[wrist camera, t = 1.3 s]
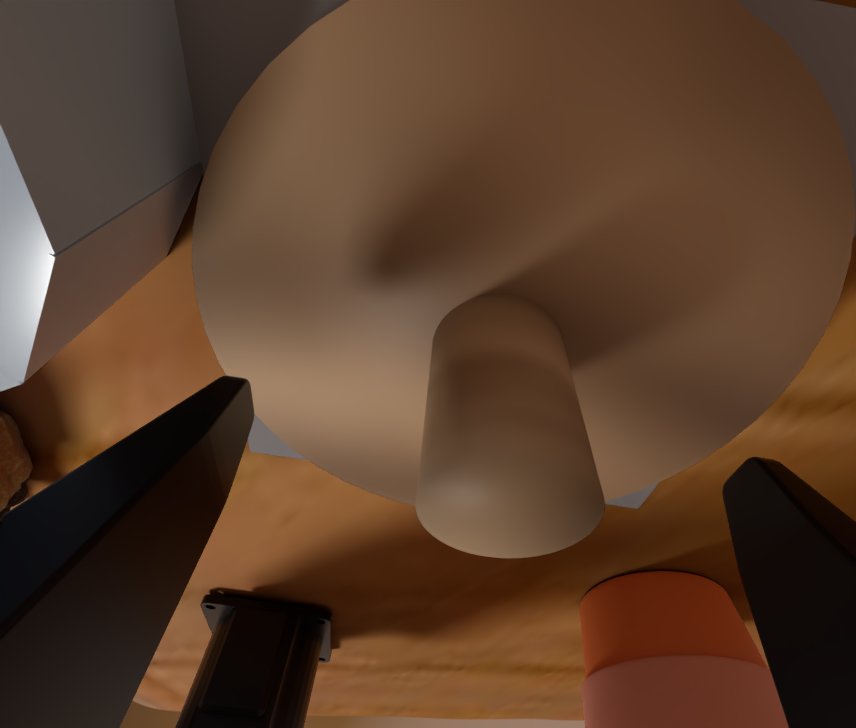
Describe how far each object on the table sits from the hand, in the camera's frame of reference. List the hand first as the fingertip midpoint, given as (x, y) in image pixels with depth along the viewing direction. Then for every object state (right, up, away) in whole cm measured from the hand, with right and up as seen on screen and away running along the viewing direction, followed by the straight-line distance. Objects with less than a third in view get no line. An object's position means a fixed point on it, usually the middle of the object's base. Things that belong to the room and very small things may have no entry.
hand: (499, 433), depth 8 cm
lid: (0, +2, +3) cm, 4 cm away
